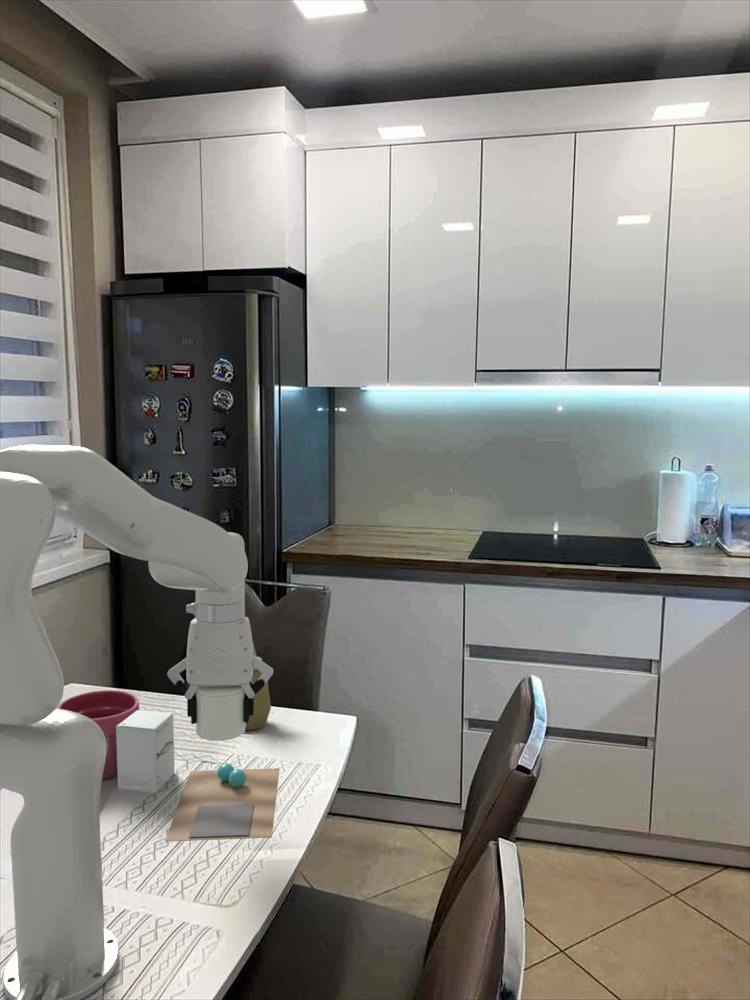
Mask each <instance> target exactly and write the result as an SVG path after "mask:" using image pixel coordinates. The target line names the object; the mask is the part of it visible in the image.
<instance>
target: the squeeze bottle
mask: <svg viewBox="0 0 750 1000" xmlns="http://www.w3.org/2000/svg"><path fill="white" fill-rule="evenodd" d="M252 643H253V655H254V656H256V657H257V658H259V659H260V660H261V661H263V659H262V657H260V656H257V652H256V649H255V644H254V642H253V641H252ZM261 675H262V673H261V672H260V671H259V670H257V669H256V668H255V667H254V668H253V675H252V679H251V680H252V682H253V683H254V682H255V681H256V680H257V679H258V678H260V676H261ZM271 709H272V705H271V700H270V689H269V680H268V681H267V682H266V683H265V685H264V687H263V688H262V689H261V690H259V691H258V692H257V693H256V694H255V696H254V715H252V716H250V718H249V723H246V728H245V731H255V730H260V729H262V728H264V727H265V726H266V724H267V721H268V719H269V715H270V713H271Z"/></svg>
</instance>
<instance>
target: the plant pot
mask: <svg viewBox="0 0 750 1000" xmlns="http://www.w3.org/2000/svg"><path fill="white" fill-rule="evenodd" d="M57 708H58V709H63V710H68V711H72V712H76V713H79V714H81V715H84V716H86V717H88V718H90V719H91V720H93V721H94V722H95V723H96V724H97V725H98V726H99V727H100V728H101V730H102V731H103V733H104V736H105V739H106V759H105V765H104V770H103V776H102V782H103V781H106V780H111V779H113V778H114V777H118V772H117V740H116V726H117V725H119V724H120V723H121V722H122V721H124V720H125V719H126V718H128V717H129V716H130V715H132V714H133V713H134V712H135V711H137V710H140V701H139V698H138V697H137V696H136V695H135V694H133V693H131V692H129V691H128V692H127V691H125V690H124V691H122V690H117V689H116V690H115V689H114V690H113V689H112V690H111V689H109V690H107V689H106V690H103V689H102V690H94V691H88V692H85V693H80V694H77V695H74V696H71V697H69V698H67V699H65V700H63V701H61V702H60V704H59V705H58V707H57Z"/></svg>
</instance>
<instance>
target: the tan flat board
mask: <svg viewBox="0 0 750 1000" xmlns="http://www.w3.org/2000/svg"><path fill="white" fill-rule="evenodd" d="M241 770H243V771H244V772H245V774H246V781H245V783H244V784H243V785H242V786H241V787H233V786H232V785H231V784H230V783H229V781H222V780H220V779H219V778H218V775H217V771H218V769H216V770H214V769H213V770H190V771H189V774H188V777H187V780H186V782H185V784H184V788H183V791H182V793H181V796H180V798H179V801H178V803H177V807H176V810H175V812H174V815H173V818H172V820H171V824H170V826H169V829H168V832H167V834H166V837H165V842H182V841H184V842H185V841H187V842H188V841H209V840H210V841H211V840H212V841H214V840H228V839H229V840H234V839H235V840H237V839H260V838H261V839H262V838H263V839H264V838H273V837H272V836H273V828H274V818H275V810H276V803H277V802H276V800H277V794H278V793H277V792H278V783H279V775H280V768H279V767H278V768H277V767H275V768H250V769H249V768H248V769H247V768H245V769H244V768H243V769H241Z"/></svg>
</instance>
